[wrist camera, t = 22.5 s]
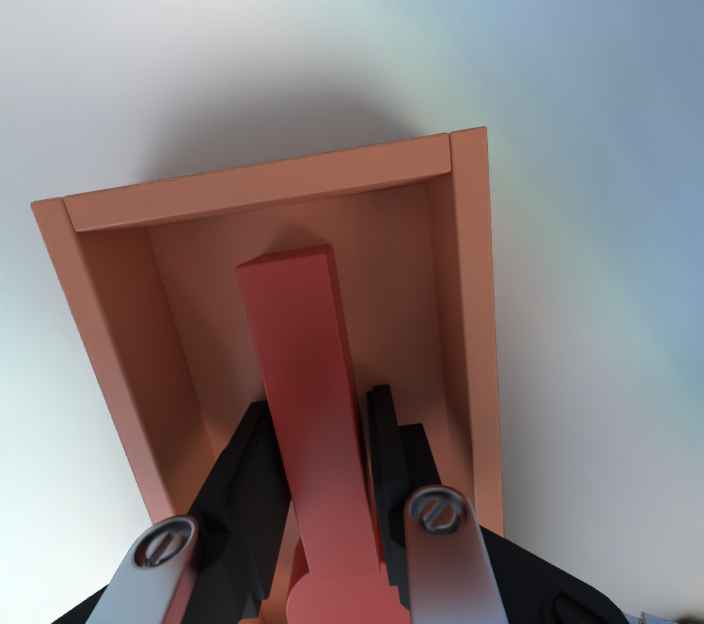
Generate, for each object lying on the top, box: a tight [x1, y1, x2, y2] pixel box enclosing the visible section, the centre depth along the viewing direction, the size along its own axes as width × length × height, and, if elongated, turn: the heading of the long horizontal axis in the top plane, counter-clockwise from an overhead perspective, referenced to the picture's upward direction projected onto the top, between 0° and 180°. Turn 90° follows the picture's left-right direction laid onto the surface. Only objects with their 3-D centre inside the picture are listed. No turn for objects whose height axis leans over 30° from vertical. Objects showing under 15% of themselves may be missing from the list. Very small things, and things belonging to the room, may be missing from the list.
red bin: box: [31, 126, 504, 624], centre depth 10 cm, size 9×17×3 cm, turn 9°
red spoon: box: [235, 244, 410, 624], centre depth 10 cm, size 4×13×2 cm, turn 9°
